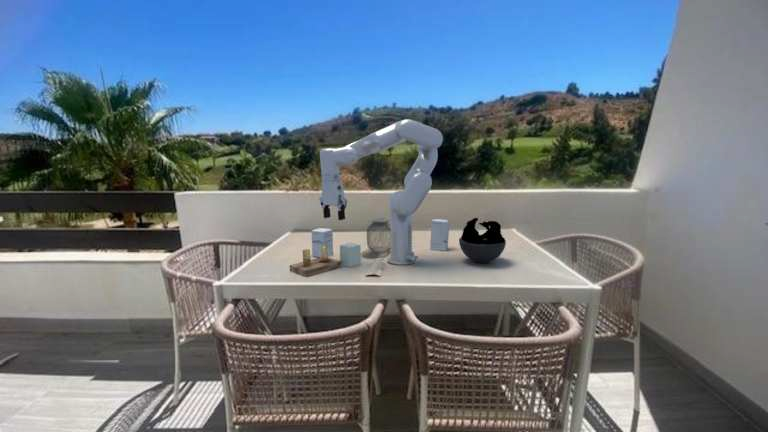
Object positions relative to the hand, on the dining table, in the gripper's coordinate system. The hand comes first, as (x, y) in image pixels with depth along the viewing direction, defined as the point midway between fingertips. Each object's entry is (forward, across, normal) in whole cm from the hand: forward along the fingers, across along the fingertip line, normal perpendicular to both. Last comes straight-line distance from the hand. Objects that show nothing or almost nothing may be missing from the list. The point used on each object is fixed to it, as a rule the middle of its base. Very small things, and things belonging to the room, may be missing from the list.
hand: (334, 218), depth 164 cm
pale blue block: (+21, -2, -5) cm, 22 cm away
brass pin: (+20, +3, +5) cm, 21 cm away
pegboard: (+20, +3, +9) cm, 23 cm away
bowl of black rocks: (+24, -43, -46) cm, 68 cm away
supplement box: (+21, +18, -6) cm, 28 cm away
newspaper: (+23, -15, -9) cm, 29 cm away
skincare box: (+24, -16, -52) cm, 60 cm away
